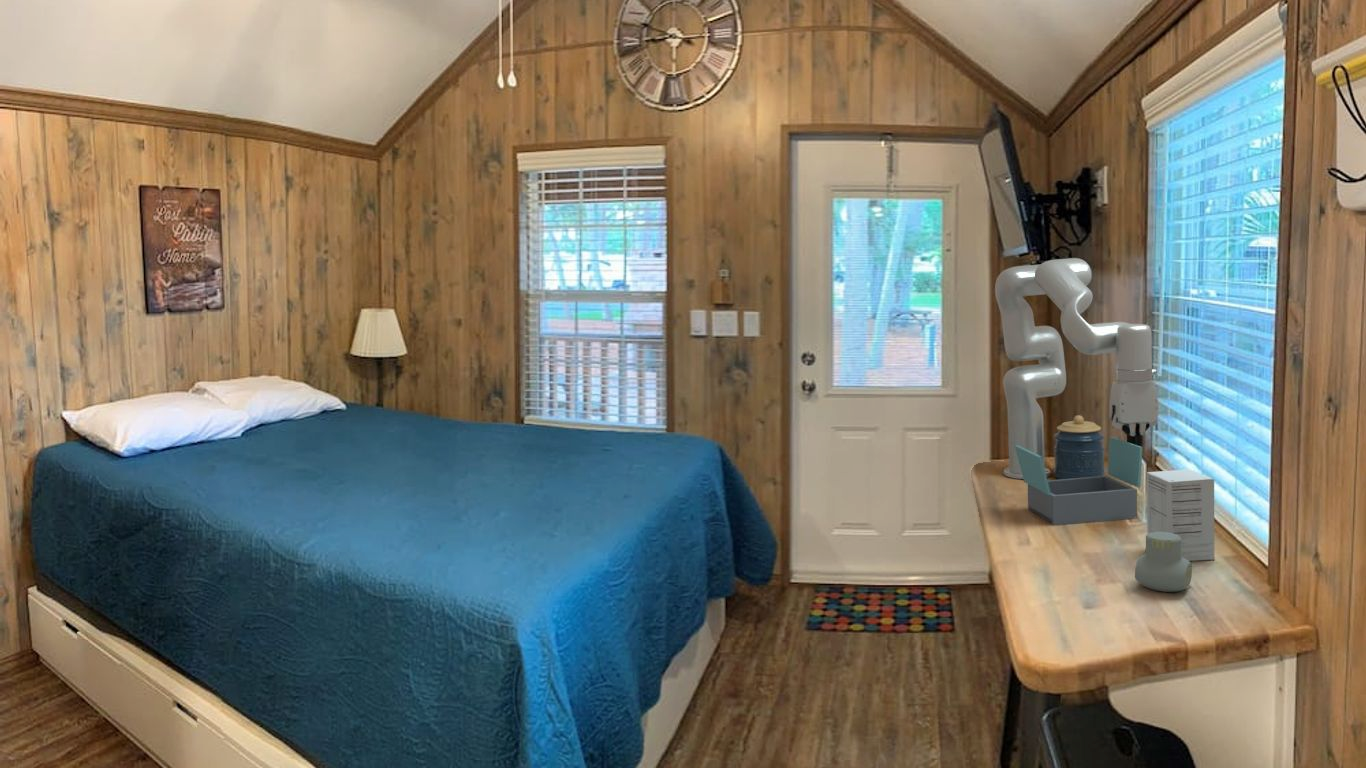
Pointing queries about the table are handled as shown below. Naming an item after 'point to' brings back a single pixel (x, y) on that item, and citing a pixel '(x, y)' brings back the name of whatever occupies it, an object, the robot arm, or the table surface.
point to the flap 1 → (1033, 469)
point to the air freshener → (1163, 564)
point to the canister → (1079, 450)
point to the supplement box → (1183, 510)
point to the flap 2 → (1125, 461)
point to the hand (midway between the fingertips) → (1134, 450)
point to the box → (1084, 500)
